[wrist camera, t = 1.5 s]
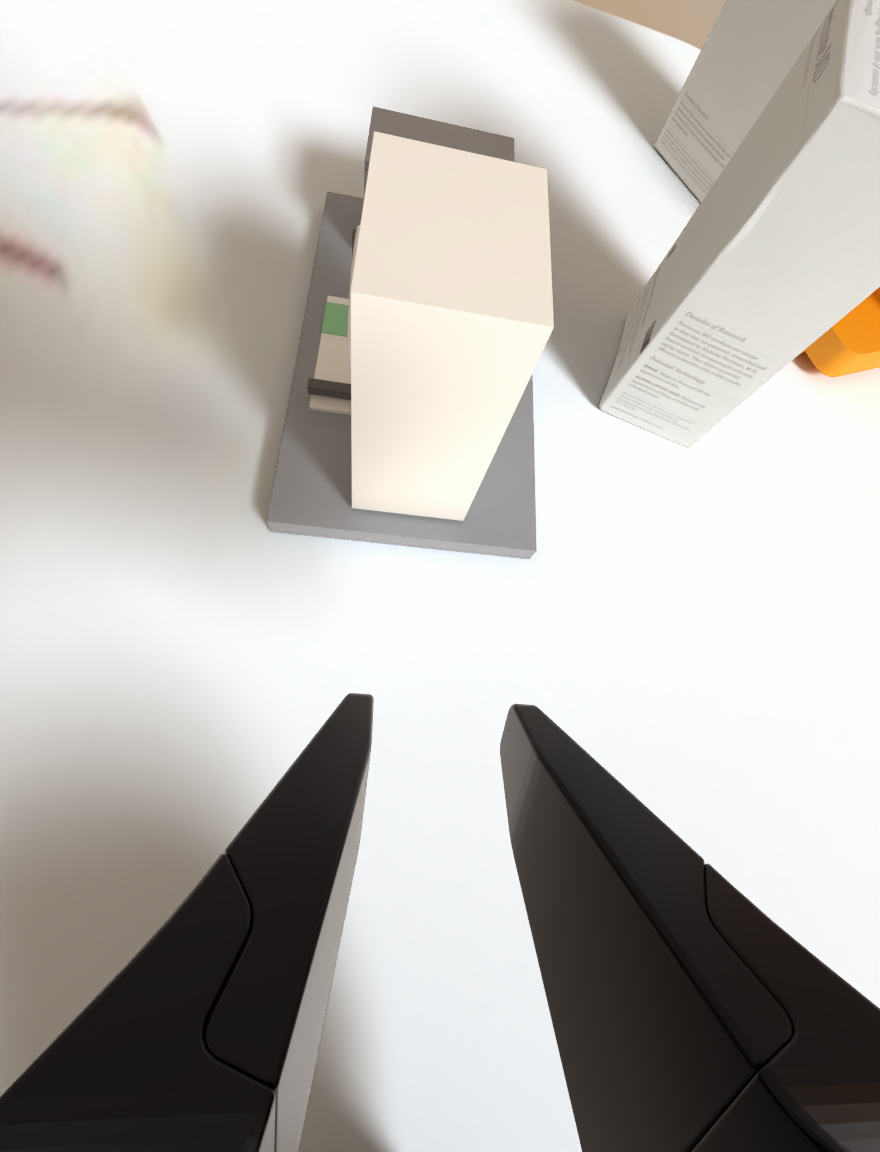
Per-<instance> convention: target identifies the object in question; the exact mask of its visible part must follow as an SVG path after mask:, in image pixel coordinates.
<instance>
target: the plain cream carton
mask: <svg viewBox="0 0 880 1152" xmlns="http://www.w3.org/2000/svg"><path fill="white" fill-rule="evenodd" d="M553 328H554V317H553V294H552V270H551V247H550V224H549V201H548V178H547V169H544V168H540V167H535V166H530V165H526V164H521V163H517V162H512V161H508V160H503V159H498V158H494V157H489V156H485V155H480V154H476V153H471V152H467V151H462V150H457V149H453V148H448V147H444V146H439V145H435V144H430V143H425V142H421V141H416V140H412V139H407V138H403V137H398V136H393V135H389V134H384V133H380V132H375V131H374V135H373V142H372V149H371V156H370V163H369V170H368V177H367V183H366V190H365V197H364V204H363V211H362V218H361V224H360V225H358V227H357V230H356V229H353V232H352V267H351V278H350V292H349V308H348V332H347V360H348V369H349V371H351V384H347V383H340V382H333V381H326V380H320V379H313V378H309V379H308V385H307V389H308V394H312V395H319V396H326V397H332V398H339V399H346V400H351V444H352V508H356V509H365V510H373V511H382V512H390V513H399V514H408V515H416V516H425V517H434V518H442V519H451V520H459V521H463V520H464V518H465V516H466V514H467V512H468V510H469V508H470V505H471V503H472V501H473V499H474V497H475V495H476V493H477V491H478V488H479V486H480V484H481V482H482V480H483V478H484V476H485V473H486V471H487V469H488V467H489V465H490V463H491V461H492V459H493V456H494V454H495V452H496V450H497V448H498V446H499V444H500V441H501V439H502V437H503V435H504V433H505V431H506V429H507V426H508V424H509V422H510V420H511V418H512V416H513V414H514V412H515V409H516V407H517V405H518V403H519V401H520V399H521V397H522V394H523V392H524V390H525V388H526V386H527V384H528V382H529V379H530V377H531V375H532V373H533V371H534V369H535V367H536V365H537V362H538V360H539V358H540V356H541V354H542V352H543V350H544V347H545V345H546V343H547V341H548V339H549V337H550V335H551V333H552V330H553Z"/></svg>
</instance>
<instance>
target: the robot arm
mask: <svg viewBox="0 0 880 1152" xmlns="http://www.w3.org/2000/svg"><path fill="white" fill-rule="evenodd" d="M372 723H373V697H372V695H369V694H355V693H350V694H348V695H347V696H346V697H345V698H344V699H343V701H342V702H341V703H340V704H339V706H338V707H337V708H336V710H335V711H334V712H333V713H332V715H331V716H330V717H329V718H328V720H327V721H326V722H325V724H324V725H323V726H322V727H321V729H320V730H319V731H318V732H317V734H316V735H315V736H314V738H313V739H312V740H311V741H310V743H309V744H308V745H307V746H306V748H305V749H304V750H303V751H302V753H301V754H300V755H299V757H298V758H297V759H296V760H295V762H294V763H293V764H292V765H291V767H290V768H289V769H288V771H287V772H286V773H285V774H284V776H283V777H282V778H281V779H280V781H279V782H278V783H277V785H276V786H275V787H274V788H273V790H272V791H271V792H270V793H269V795H268V796H267V797H266V799H265V800H264V801H263V802H262V804H261V805H260V806H259V807H258V809H257V810H256V811H255V813H254V814H253V815H252V816H251V818H250V819H249V820H248V821H247V823H246V824H245V825H244V827H243V828H242V829H241V830H240V832H239V833H238V834H237V835H236V837H235V838H234V839H233V841H232V842H231V843H230V844H229V846H228V847H227V848H226V850H225V854H222V855H220V857H219V858H218V859H217V860H216V862H215V863H214V864H213V866H212V867H211V868H210V869H209V871H208V872H207V873H206V874H205V876H204V877H203V878H202V880H201V881H200V882H199V883H198V884H197V886H196V887H195V888H194V889H193V890H192V892H191V893H190V894H189V895H188V896H187V898H186V899H185V900H184V901H183V902H182V904H181V905H180V906H179V907H178V908H177V910H176V911H175V912H174V913H173V914H172V916H171V917H170V918H169V919H168V920H167V921H166V923H165V924H164V925H163V926H162V927H161V928H160V929H159V930H158V931H157V932H156V933H155V935H154V936H153V937H152V938H151V939H150V940H149V941H148V942H147V943H146V944H145V945H144V946H143V948H142V949H141V950H140V951H139V952H138V953H137V954H136V955H135V956H134V957H133V958H132V960H131V961H130V962H129V963H128V964H127V965H126V966H125V967H124V968H123V969H122V970H121V971H120V972H119V973H118V974H117V975H116V977H115V978H114V979H113V980H112V981H111V982H110V983H109V984H108V985H107V986H106V987H105V988H104V989H103V990H102V991H101V992H100V993H99V994H98V995H97V996H96V997H95V998H94V1000H93V1001H92V1002H91V1003H90V1004H89V1005H88V1006H87V1007H86V1008H85V1009H84V1010H83V1011H82V1012H81V1013H80V1014H79V1015H78V1016H77V1017H76V1018H75V1019H74V1020H73V1021H72V1023H71V1024H70V1025H69V1026H68V1027H67V1028H66V1029H65V1030H64V1031H63V1032H62V1033H61V1034H60V1035H59V1036H58V1037H57V1038H56V1039H55V1040H54V1041H53V1042H52V1043H51V1044H50V1046H49V1047H48V1048H47V1049H46V1050H45V1051H44V1052H43V1053H42V1054H41V1055H40V1056H39V1057H38V1058H37V1059H36V1060H35V1061H34V1062H33V1063H32V1064H31V1065H30V1066H29V1067H28V1069H27V1070H26V1071H25V1072H24V1073H23V1074H22V1075H21V1076H20V1077H19V1078H18V1079H17V1080H16V1081H15V1082H14V1083H13V1084H12V1085H11V1086H10V1087H9V1088H8V1089H7V1090H6V1091H5V1093H4V1094H3V1095H2V1096H1V1097H0V1152H298V1151H299V1146H300V1141H301V1136H302V1131H303V1126H304V1121H305V1116H306V1111H307V1106H308V1101H309V1096H310V1091H311V1086H312V1081H313V1076H314V1071H315V1066H316V1061H317V1056H318V1051H319V1046H320V1041H321V1036H322V1031H323V1026H324V1021H325V1016H326V1011H327V1006H328V1001H329V996H330V990H331V985H332V980H333V975H334V970H335V965H336V960H337V955H338V950H339V945H340V940H341V935H342V930H343V925H344V920H345V915H346V910H347V905H348V900H349V895H350V890H351V885H352V880H353V875H354V870H355V865H356V860H357V855H358V849H359V843H360V837H361V829H362V820H363V812H364V803H365V795H366V786H367V778H368V769H369V761H370V752H371V743H372ZM500 756H501V765H502V773H503V781H504V790H505V798H506V807H507V815H508V823H509V831H510V838H511V844H512V849H513V854H514V859H515V863H516V868H517V872H518V876H519V881H520V885H521V889H522V894H523V898H524V902H525V906H526V911H527V915H528V919H529V924H530V928H531V932H532V937H533V941H534V945H535V950H536V954H537V958H538V963H539V967H540V971H541V975H542V980H543V984H544V988H545V993H546V997H547V1001H548V1006H549V1010H550V1014H551V1019H552V1023H553V1027H554V1032H555V1036H556V1040H557V1045H558V1049H559V1053H560V1057H561V1062H562V1066H563V1070H564V1075H565V1079H566V1083H567V1088H568V1092H569V1096H570V1101H571V1105H572V1109H573V1114H574V1118H575V1122H576V1126H577V1131H578V1135H579V1139H580V1144H581V1148H582V1152H880V1009H879V1008H878V1007H877V1006H876V1005H874V1004H873V1003H872V1002H871V1001H869V1000H868V999H867V998H866V997H865V996H863V995H862V994H861V993H860V992H858V991H857V990H856V989H855V988H853V987H852V986H851V985H850V984H848V983H847V982H846V981H845V980H844V979H842V978H841V977H840V976H839V975H837V974H836V973H835V972H834V971H832V970H831V969H830V968H829V967H827V966H826V965H825V964H824V963H823V962H821V961H820V960H819V959H818V958H816V957H815V956H814V955H813V954H812V953H810V952H809V951H808V950H807V949H806V948H804V947H803V946H802V945H801V944H800V943H798V942H797V941H796V940H795V939H794V938H792V937H791V936H790V935H789V934H788V933H786V932H785V931H784V930H783V929H782V928H780V927H779V926H778V925H777V924H776V923H774V922H773V921H772V920H771V919H770V918H769V917H768V916H766V915H765V914H764V913H763V912H762V911H761V910H760V909H758V908H757V907H756V906H755V905H754V904H753V903H752V902H751V901H749V900H748V899H747V898H746V897H745V896H744V895H743V894H742V893H740V892H739V891H738V890H737V889H736V888H735V887H734V886H733V885H731V884H730V883H729V882H728V881H727V880H726V879H725V878H724V877H723V876H722V875H721V874H719V873H718V872H717V871H716V870H715V869H714V868H713V867H712V866H711V865H709V864H704V860H703V858H702V857H701V856H699V855H698V854H697V853H696V852H695V851H694V850H693V849H692V848H691V847H690V846H689V845H687V844H686V843H685V842H684V841H683V840H682V839H681V838H680V837H679V836H678V835H677V834H675V833H674V832H673V831H672V830H671V829H670V828H669V827H668V826H667V825H666V824H665V823H663V822H662V821H661V820H660V819H659V818H658V817H657V816H656V815H655V814H654V813H653V812H651V811H650V810H649V809H648V808H647V807H646V806H645V805H644V804H643V803H642V802H641V801H639V800H638V799H637V798H636V797H635V796H634V795H633V794H632V793H631V792H630V791H629V790H627V789H626V788H625V787H624V786H623V785H622V784H621V783H620V782H619V781H618V780H616V779H615V778H614V777H613V776H612V775H611V774H610V773H609V772H608V771H607V770H606V769H604V768H603V767H602V766H601V765H600V764H599V763H598V762H597V761H596V760H595V759H594V758H592V757H591V756H590V755H589V754H588V753H587V752H586V751H585V750H584V749H583V748H582V747H580V746H579V745H578V744H577V743H576V742H575V741H574V740H573V739H572V738H571V737H570V736H568V735H567V734H566V733H565V732H564V731H563V730H562V729H561V728H560V727H559V726H558V725H556V724H555V723H554V722H553V721H552V720H551V719H550V718H549V717H548V716H547V715H545V714H544V713H543V712H542V711H541V710H540V709H539V708H538V707H536V706H534V705H524V704H514V705H512V706H511V707H510V709H509V712H508V715H507V719H506V723H505V727H504V731H503V735H502V739H501V745H500Z"/></svg>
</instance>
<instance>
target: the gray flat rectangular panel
mask: <svg viewBox="0 0 880 1152" xmlns="http://www.w3.org/2000/svg"><path fill="white" fill-rule="evenodd" d="M363 204H364V199H362V198H357V197H352V196H347V195H342V194H337V193H332V192H327V198H326V203H325V208H324V214H323V219H322V225H321V230H320V235H319V241H318V246H317V252H316V257H315V262H314V268H313V273H312V279H311V284H310V289H309V295H308V300H307V306H306V311H305V316H304V322H303V327H302V333H301V338H300V343H299V349H298V354H297V360H296V365H295V370H294V376H293V381H292V387H291V392H290V397H289V403H288V408H287V414H286V419H285V424H284V430H283V435H282V441H281V446H280V451H279V457H278V462H277V468H276V473H275V478H274V484H273V489H272V495H271V500H270V506H269V511H268V516H267V524H268V527H269V529H270V531H273V532H282V533H291V534H301V535H310V536H319V537H329V538H338V539H347V540H357V541H366V542H375V543H384V544H394V545H403V546H412V547H422V548H431V549H440V550H450V551H459V552H468V553H478V554H487V555H496V556H505V557H515V558H524V559H530V558H531V556H532V555H533V554H534V553H535V552H536V515H535V470H534V426H533V382H532V375H531V377H530V379H529V382H528V384H527V386H526V388H525V390H524V392H523V394H522V397H521V399H520V401H519V403H518V405H517V407H516V409H515V412H514V414H513V416H512V418H511V420H510V422H509V424H508V426H507V429H506V431H505V433H504V435H503V437H502V439H501V441H500V444H499V446H498V448H497V450H496V452H495V454H494V456H493V459H492V461H491V463H490V465H489V467H488V469H487V471H486V473H485V476H484V478H483V480H482V482H481V484H480V486H479V488H478V491H477V493H476V495H475V497H474V499H473V501H472V503H471V505H470V508H469V510H468V512H467V514H466V516H465V518H464V520H463V521H459V520H451V519H442V518H434V517H425V516H416V515H408V514H399V513H390V512H382V511H373V510H365V509H356V508H352V444H351V400H346V399H339V398H332V397H326V396H319V395H312V394H308V389H307V385H308V379H309V378H313V379H320V380H326V381H333V382H340V383H347V384H351V371H349V369H348V360H347V332H348V308H349V292H350V278H351V267H352V232H353V229H356V230H357V227H358V225H360V224H361V218H362V211H363Z"/></svg>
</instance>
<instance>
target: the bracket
mask: <svg viewBox="0 0 880 1152" xmlns="http://www.w3.org/2000/svg"><path fill="white" fill-rule="evenodd" d="M802 353H806V354H807V355H808V357H809V358H810V360H811V361H812V363H813V364H814V366H815V367H816V368H817V369H818V370H819V371H820V372H821V373H823V374H824V375H827V376H830V377H837V376H842V375H846V374H851V373H855V372H860V371H864V370H869V369H873V368H878V367H880V287H879V288H878V289H876V290H875V291H874V292H873V293H872V294H870V295H869V296H868V297H867V298H866V299H865V300H863V301H862V302H861V303H860V304H859V305H857V306H856V307H855V308H854V309H853V310H851V311H850V312H849V313H848V314H847V315H845V316H844V317H843V318H842V319H841V320H839V321H838V322H837V323H836V324H835V325H833V326H832V327H831V328H830V329H829V330H828V331H826V332H825V333H824V334H823V335H822V336H820V337H819V338H818V339H817V340H816V341H815V342H813V343H812V344H811V345H810V346H809V347H807V348H806V349H805V350H804V351H803V352H801V353H800V354H802Z"/></svg>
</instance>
